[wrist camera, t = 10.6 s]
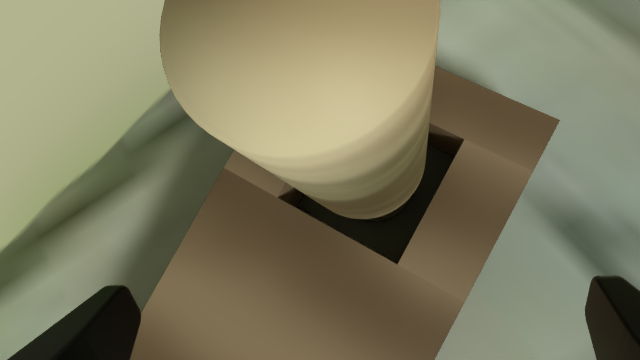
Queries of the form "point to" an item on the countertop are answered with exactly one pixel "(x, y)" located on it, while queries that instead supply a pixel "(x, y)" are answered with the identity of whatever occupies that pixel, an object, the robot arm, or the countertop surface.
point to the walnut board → (344, 252)
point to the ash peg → (312, 90)
